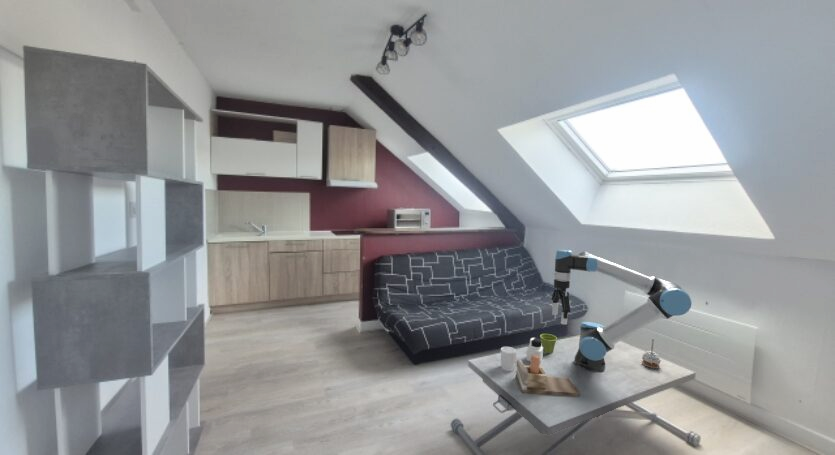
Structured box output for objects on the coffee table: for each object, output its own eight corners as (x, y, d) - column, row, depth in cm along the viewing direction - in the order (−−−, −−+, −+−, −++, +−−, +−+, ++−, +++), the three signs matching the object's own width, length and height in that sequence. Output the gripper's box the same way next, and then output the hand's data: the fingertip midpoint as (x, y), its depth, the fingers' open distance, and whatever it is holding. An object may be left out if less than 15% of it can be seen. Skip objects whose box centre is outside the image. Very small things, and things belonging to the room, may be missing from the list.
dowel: (528, 380, 165) (530, 354, 163) (536, 380, 165) (538, 355, 163) (530, 384, 161) (532, 358, 159) (539, 385, 161) (541, 359, 159)
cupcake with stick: (662, 367, 185) (664, 340, 183) (653, 370, 181) (656, 343, 180) (647, 361, 192) (649, 335, 190) (639, 363, 188) (641, 337, 187)
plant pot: (554, 356, 194) (555, 341, 193) (537, 352, 199) (538, 337, 198) (557, 350, 202) (558, 336, 201) (541, 346, 207) (542, 332, 206)
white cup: (515, 372, 175) (517, 354, 174) (500, 370, 176) (501, 352, 175) (514, 365, 182) (515, 347, 181) (499, 363, 184) (500, 345, 183)
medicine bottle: (542, 359, 190) (543, 338, 189) (539, 364, 184) (540, 343, 183) (529, 355, 194) (530, 335, 193) (526, 360, 188) (527, 339, 187)
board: (568, 380, 168) (570, 362, 167) (579, 396, 155) (581, 376, 154) (515, 377, 170) (516, 359, 169) (521, 392, 157) (523, 373, 156)
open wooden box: (540, 378, 167) (541, 366, 166) (546, 388, 158) (546, 375, 157) (521, 376, 167) (522, 365, 167) (526, 387, 158) (527, 374, 158)
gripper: (546, 273, 189) (544, 310, 191) (563, 285, 164) (560, 328, 166) (560, 274, 188) (558, 311, 190) (579, 286, 164) (576, 328, 165)
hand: (559, 319), depth 178 cm, fingers open, 13 cm apart
